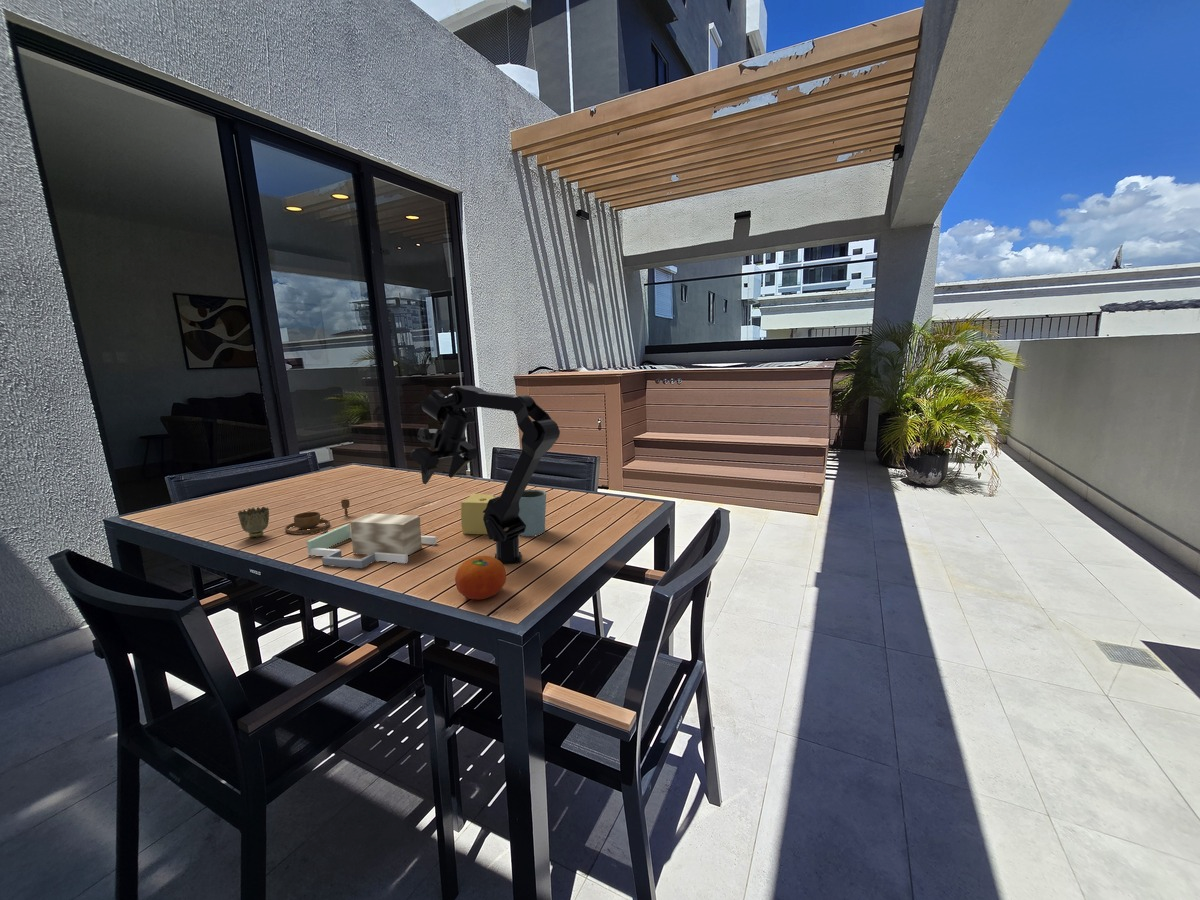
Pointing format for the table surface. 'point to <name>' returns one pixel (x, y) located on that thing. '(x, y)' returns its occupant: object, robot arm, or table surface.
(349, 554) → the table surface
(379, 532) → the birch block
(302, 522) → the place setting
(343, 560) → the low angular wall frame
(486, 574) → the fruit
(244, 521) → the cup
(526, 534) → the blue-gray cylindrical container
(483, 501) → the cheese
